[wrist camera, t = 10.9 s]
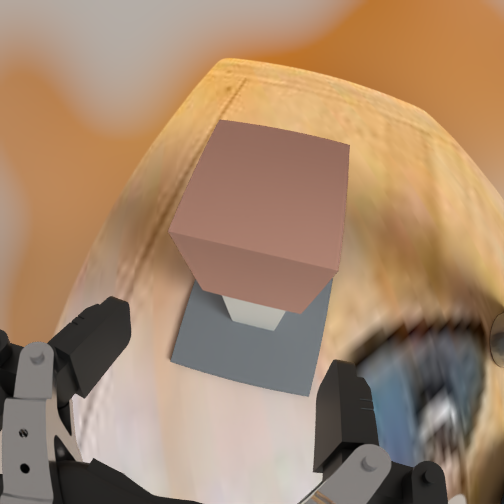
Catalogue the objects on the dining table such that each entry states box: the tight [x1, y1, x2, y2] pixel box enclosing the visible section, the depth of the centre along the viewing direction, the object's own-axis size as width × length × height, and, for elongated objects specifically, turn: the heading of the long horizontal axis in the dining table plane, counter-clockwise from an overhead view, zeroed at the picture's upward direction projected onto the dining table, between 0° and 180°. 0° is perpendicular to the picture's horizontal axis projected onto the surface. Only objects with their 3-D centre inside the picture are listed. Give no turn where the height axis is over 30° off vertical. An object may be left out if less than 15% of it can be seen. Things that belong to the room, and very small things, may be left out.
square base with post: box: [170, 278, 333, 397], centre depth 25 cm, size 18×16×18 cm
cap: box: [168, 120, 350, 314], centre depth 15 cm, size 6×6×8 cm
